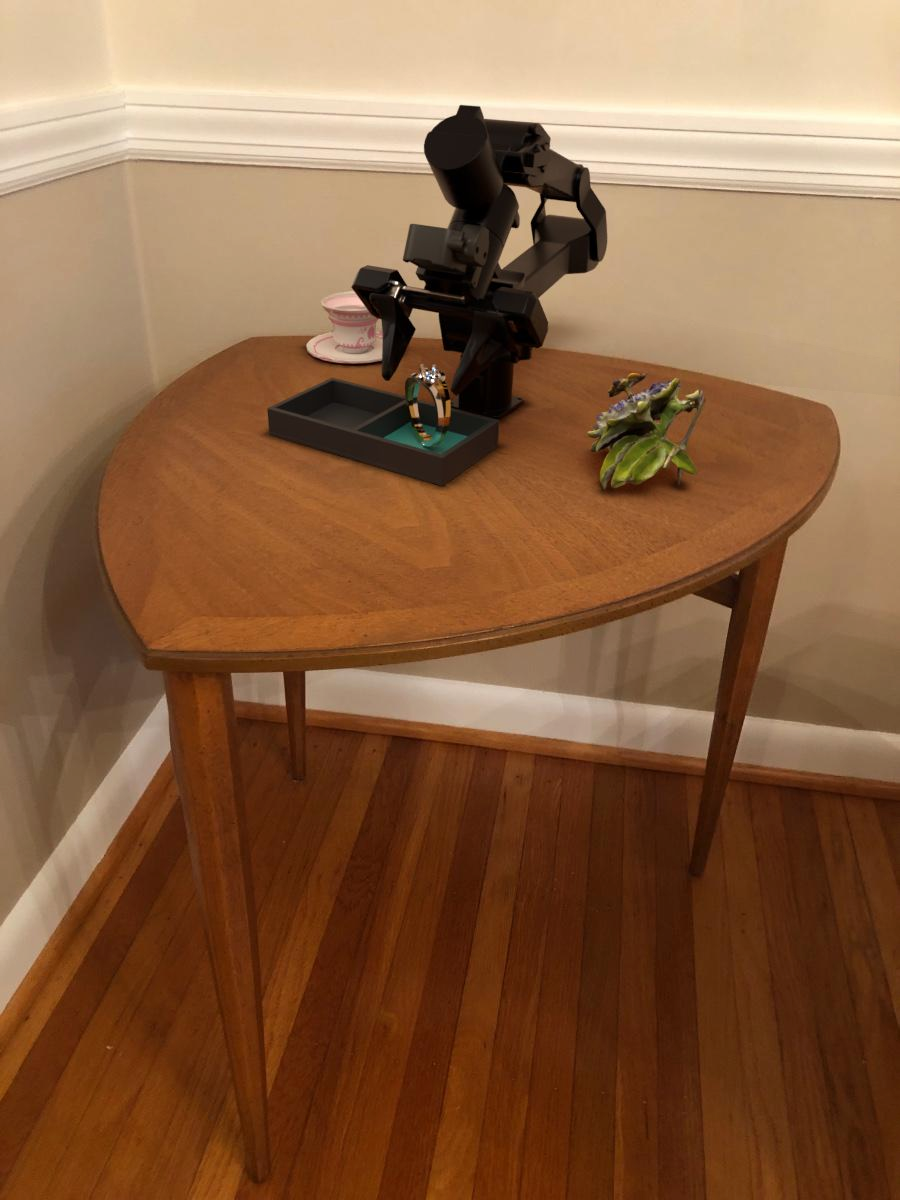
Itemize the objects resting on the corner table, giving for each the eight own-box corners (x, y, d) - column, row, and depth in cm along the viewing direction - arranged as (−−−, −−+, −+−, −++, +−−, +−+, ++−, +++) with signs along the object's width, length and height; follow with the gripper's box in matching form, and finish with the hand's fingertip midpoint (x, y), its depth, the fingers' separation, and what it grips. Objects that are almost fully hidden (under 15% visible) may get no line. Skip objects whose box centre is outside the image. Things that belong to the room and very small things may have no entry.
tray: (333, 402, 104) (332, 377, 102) (498, 446, 95) (499, 419, 93) (269, 434, 96) (266, 408, 94) (442, 486, 87) (442, 457, 86)
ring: (455, 457, 91) (459, 377, 87) (424, 461, 90) (427, 381, 86) (426, 430, 96) (428, 353, 92) (397, 434, 95) (398, 357, 91)
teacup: (363, 372, 112) (361, 320, 108) (286, 352, 117) (282, 302, 114) (420, 346, 120) (421, 297, 117) (346, 328, 125) (344, 281, 122)
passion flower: (610, 506, 96) (642, 394, 96) (708, 523, 89) (743, 402, 89) (552, 475, 87) (588, 351, 88) (656, 491, 81) (695, 357, 81)
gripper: (358, 174, 86) (296, 325, 84) (546, 197, 79) (484, 362, 77) (401, 246, 97) (347, 382, 94) (571, 272, 90) (517, 420, 88)
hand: (418, 386), depth 88 cm, fingers open, 7 cm apart
